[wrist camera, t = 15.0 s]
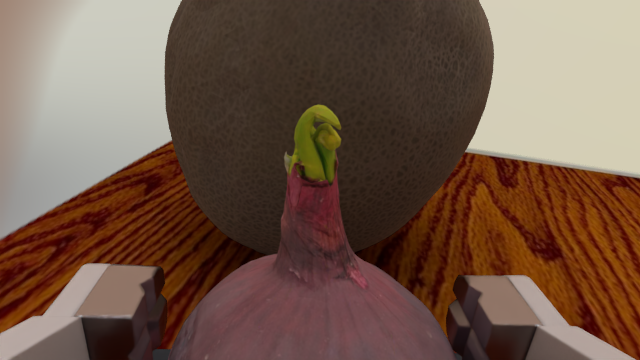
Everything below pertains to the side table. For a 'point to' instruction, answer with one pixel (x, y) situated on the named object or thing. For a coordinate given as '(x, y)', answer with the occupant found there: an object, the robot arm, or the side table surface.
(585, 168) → the side table surface
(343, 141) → the coconut
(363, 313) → the vegetable
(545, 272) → the side table surface
